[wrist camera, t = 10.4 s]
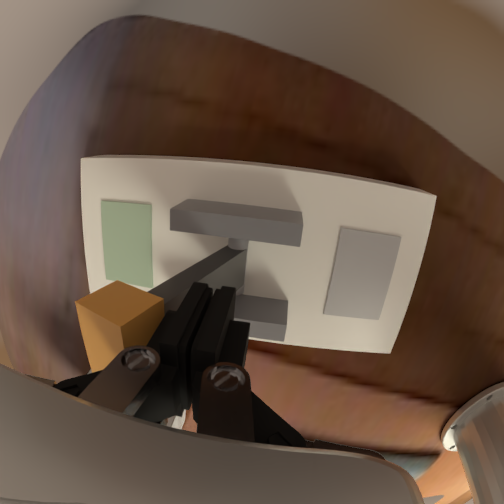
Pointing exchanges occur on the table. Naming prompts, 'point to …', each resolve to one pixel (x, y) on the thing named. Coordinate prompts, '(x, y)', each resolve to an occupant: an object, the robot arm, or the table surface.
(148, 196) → the panel
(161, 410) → the robot arm
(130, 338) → the breaker lever
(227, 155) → the table surface
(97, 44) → the table surface
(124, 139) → the table surface
